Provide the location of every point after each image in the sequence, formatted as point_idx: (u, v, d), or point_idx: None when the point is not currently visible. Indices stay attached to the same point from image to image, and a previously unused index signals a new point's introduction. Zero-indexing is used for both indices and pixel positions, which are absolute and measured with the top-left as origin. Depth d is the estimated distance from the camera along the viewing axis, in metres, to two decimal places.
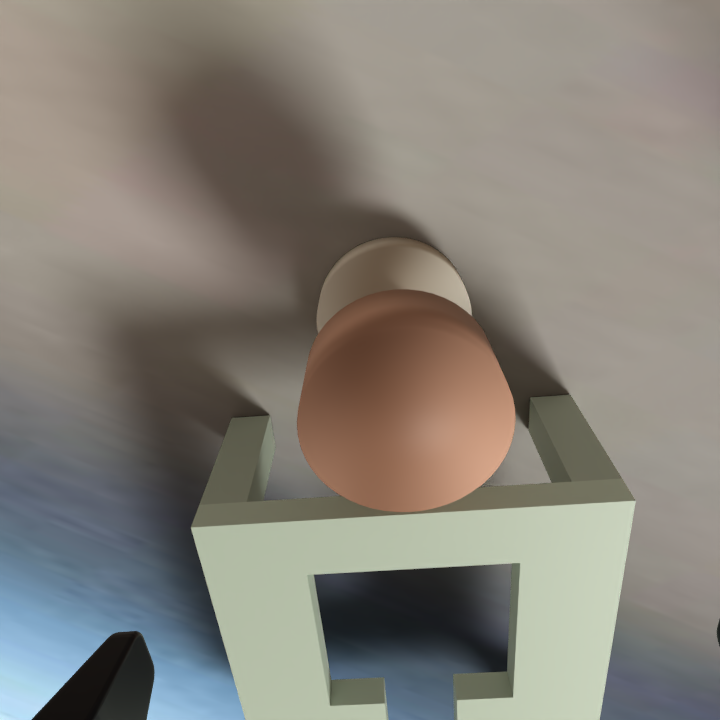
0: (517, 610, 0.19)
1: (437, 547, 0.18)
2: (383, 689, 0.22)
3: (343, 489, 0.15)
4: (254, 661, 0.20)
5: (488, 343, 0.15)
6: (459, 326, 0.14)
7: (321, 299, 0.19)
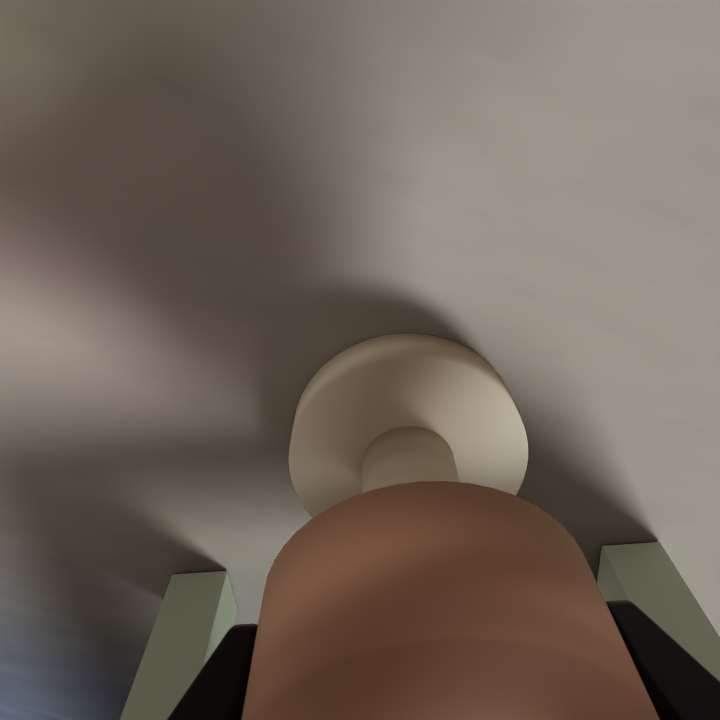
0: None
1: None
2: None
3: None
4: None
5: (597, 588, 0.08)
6: (556, 586, 0.07)
7: (295, 433, 0.12)
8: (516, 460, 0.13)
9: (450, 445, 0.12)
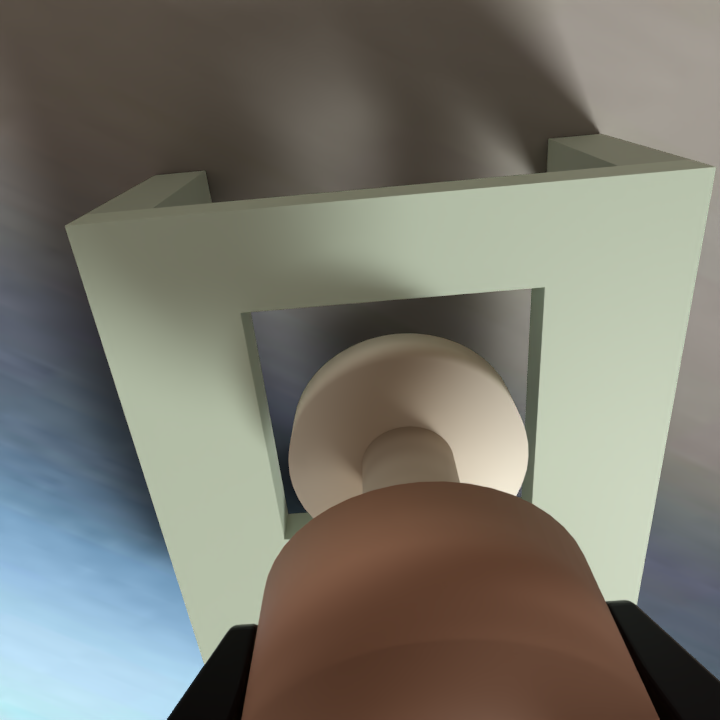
0: (539, 374, 0.14)
1: (426, 260, 0.12)
2: None
3: None
4: (176, 466, 0.15)
5: (597, 589, 0.08)
6: (556, 588, 0.07)
7: (295, 433, 0.12)
8: (516, 460, 0.13)
9: (450, 445, 0.12)
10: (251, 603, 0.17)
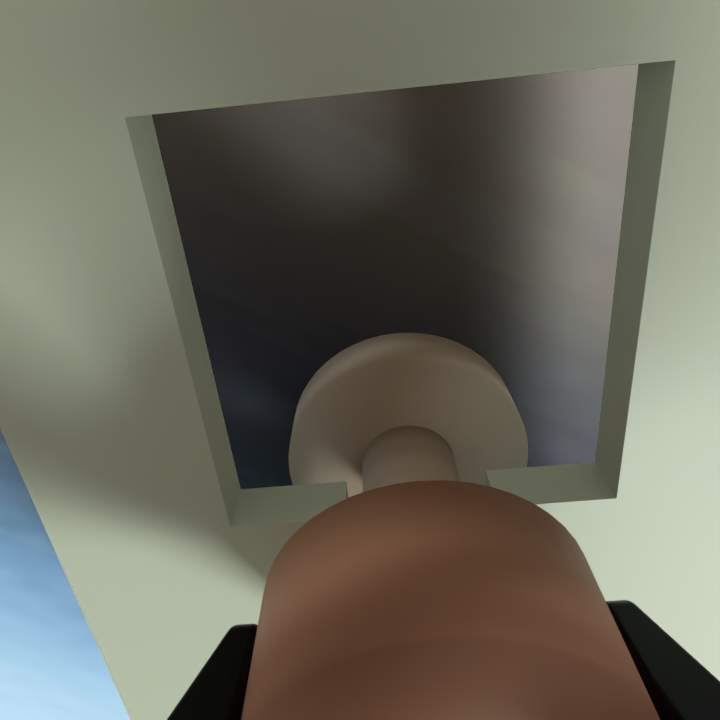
0: (649, 240, 0.08)
1: (459, 3, 0.07)
2: (344, 498, 0.11)
3: None
4: (48, 408, 0.09)
5: (597, 587, 0.08)
6: (556, 587, 0.07)
7: (295, 432, 0.12)
8: (516, 460, 0.13)
9: (450, 444, 0.12)
10: (187, 623, 0.11)
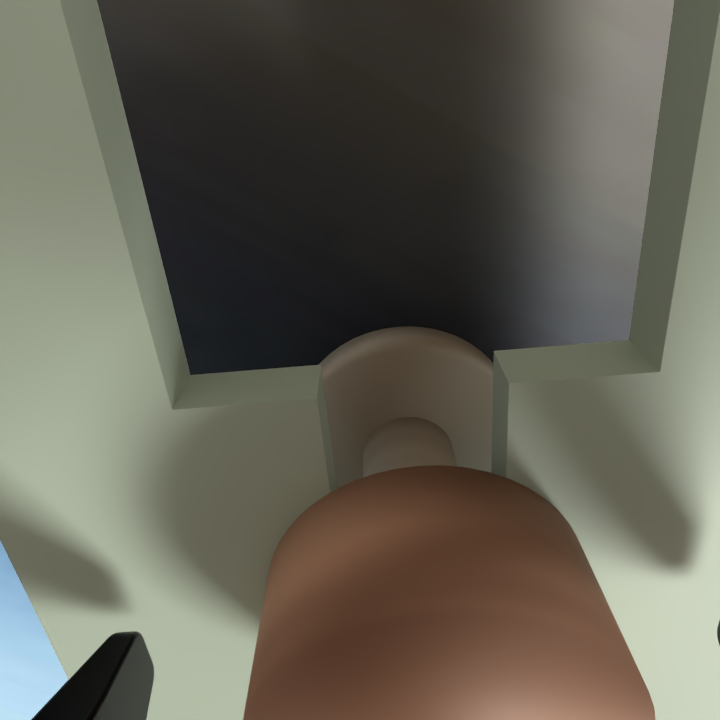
0: None
1: None
2: (317, 381, 0.08)
3: None
4: None
5: (589, 568, 0.08)
6: (549, 565, 0.07)
7: None
8: None
9: (449, 435, 0.13)
10: (124, 543, 0.09)
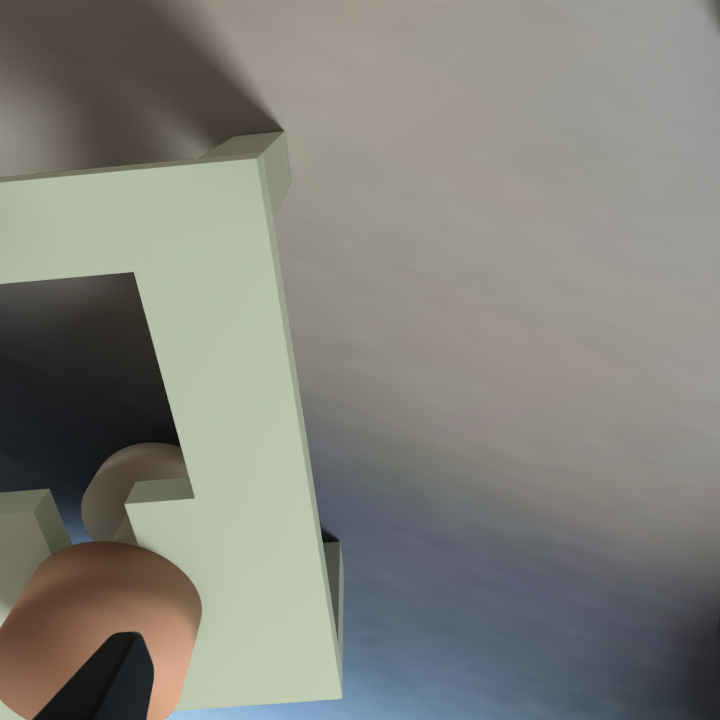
0: (157, 355, 0.14)
1: (13, 246, 0.13)
2: (41, 499, 0.17)
3: None
4: None
5: (171, 592, 0.17)
6: (127, 592, 0.16)
7: (83, 503, 0.21)
8: None
9: None
10: None
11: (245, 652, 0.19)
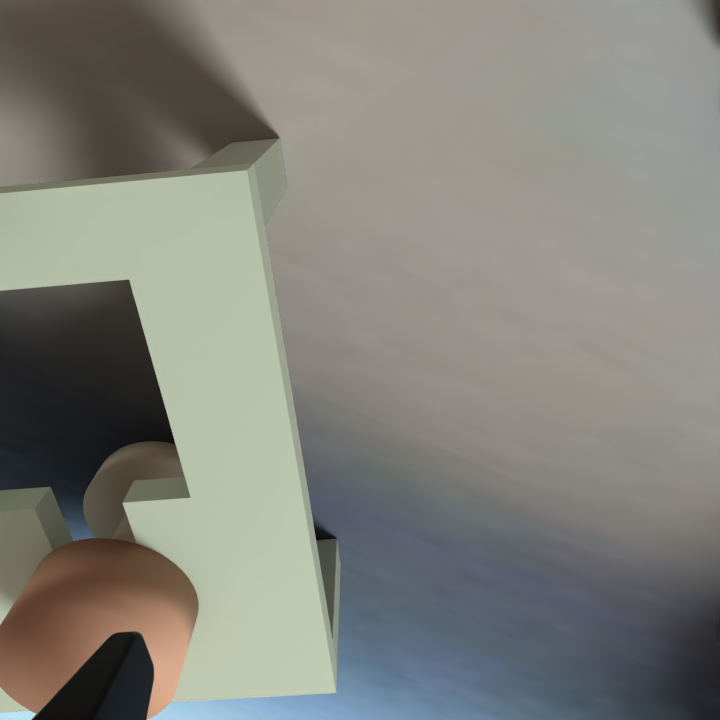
0: (153, 360, 0.15)
1: (13, 255, 0.14)
2: (42, 497, 0.17)
3: None
4: None
5: (167, 588, 0.17)
6: (125, 587, 0.16)
7: (84, 499, 0.22)
8: None
9: None
10: None
11: (241, 646, 0.20)
